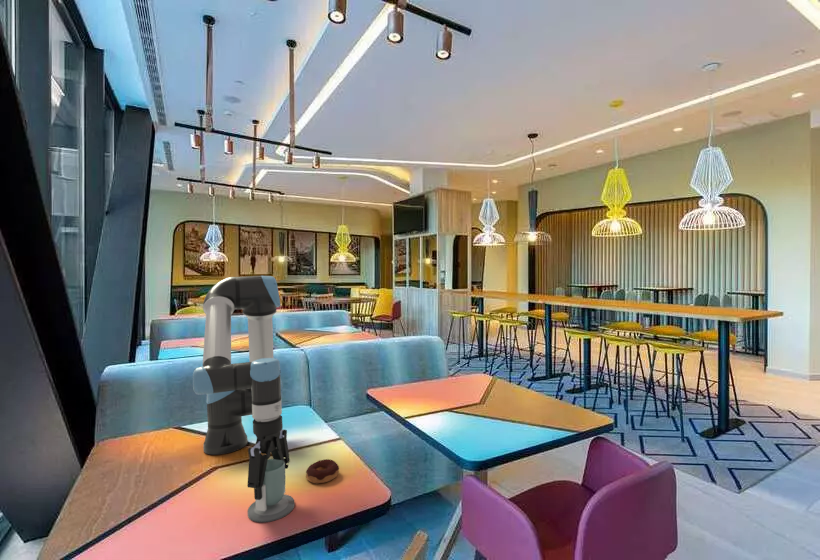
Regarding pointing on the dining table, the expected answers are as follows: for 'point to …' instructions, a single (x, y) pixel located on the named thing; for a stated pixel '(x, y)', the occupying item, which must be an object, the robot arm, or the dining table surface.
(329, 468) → the donut
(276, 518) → the disc
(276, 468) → the cup
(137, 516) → the dining table surface
